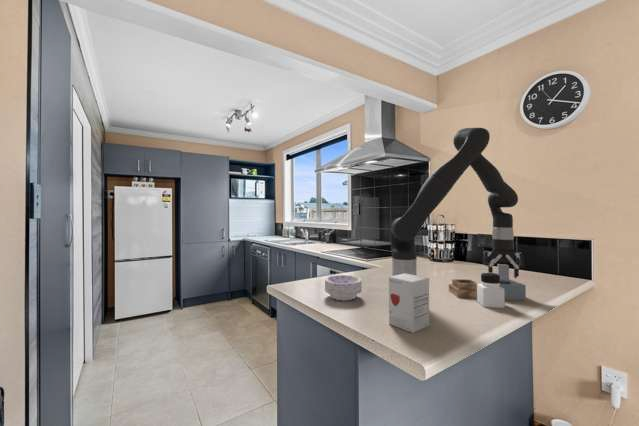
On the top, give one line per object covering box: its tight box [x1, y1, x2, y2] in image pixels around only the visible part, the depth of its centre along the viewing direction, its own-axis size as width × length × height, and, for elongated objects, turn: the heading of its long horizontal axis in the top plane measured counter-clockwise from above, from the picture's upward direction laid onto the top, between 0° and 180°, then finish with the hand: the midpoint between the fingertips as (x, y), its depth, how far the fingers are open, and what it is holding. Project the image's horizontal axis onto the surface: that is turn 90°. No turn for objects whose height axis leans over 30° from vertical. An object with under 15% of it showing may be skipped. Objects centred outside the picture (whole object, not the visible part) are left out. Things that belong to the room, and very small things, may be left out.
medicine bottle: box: [476, 271, 506, 309], centre depth 105 cm, size 7×7×12 cm
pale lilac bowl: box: [324, 274, 363, 302], centre depth 115 cm, size 15×15×8 cm
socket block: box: [448, 278, 479, 299], centre depth 120 cm, size 10×10×6 cm
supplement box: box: [388, 273, 430, 334], centre depth 86 cm, size 9×9×15 cm
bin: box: [499, 278, 527, 301], centre depth 117 cm, size 11×11×6 cm
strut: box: [496, 263, 510, 284], centre depth 117 cm, size 5×5×12 cm
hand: (503, 276), depth 117 cm, fingers open, 8 cm apart
